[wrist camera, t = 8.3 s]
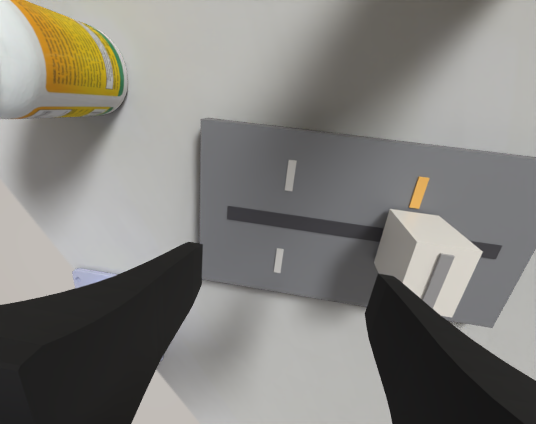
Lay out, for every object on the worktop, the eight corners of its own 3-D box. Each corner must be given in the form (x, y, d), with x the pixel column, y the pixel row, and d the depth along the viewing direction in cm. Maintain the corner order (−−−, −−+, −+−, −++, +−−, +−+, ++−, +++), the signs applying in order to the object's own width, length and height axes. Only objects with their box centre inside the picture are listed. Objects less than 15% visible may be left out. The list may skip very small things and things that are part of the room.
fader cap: (418, 269, 18) (453, 319, 14) (373, 262, 19) (394, 309, 14) (439, 215, 17) (484, 253, 13) (389, 208, 17) (418, 243, 13)
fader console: (479, 313, 21) (493, 329, 20) (205, 268, 23) (198, 279, 21) (558, 159, 17) (583, 165, 15) (208, 118, 18) (200, 119, 17)
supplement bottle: (106, 131, 19) (-58, 153, 11) (42, 74, 19) (-196, 46, 10) (146, 70, 18) (-12, 34, 9) (78, 3, 17) (-177, -112, 8)
